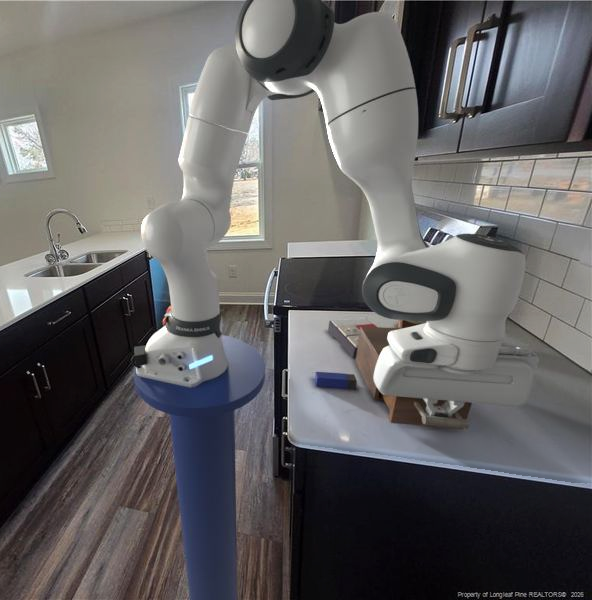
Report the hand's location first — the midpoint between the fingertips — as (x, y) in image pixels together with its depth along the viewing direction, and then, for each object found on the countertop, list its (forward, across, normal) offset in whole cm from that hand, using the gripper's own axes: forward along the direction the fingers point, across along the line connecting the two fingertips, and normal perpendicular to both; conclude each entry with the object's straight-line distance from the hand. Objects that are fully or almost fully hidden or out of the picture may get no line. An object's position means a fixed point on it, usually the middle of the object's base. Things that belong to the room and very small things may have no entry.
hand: (436, 417), depth 52 cm
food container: (+5, -14, -46) cm, 49 cm away
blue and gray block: (+5, +13, -14) cm, 20 cm away
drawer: (+4, 0, -7) cm, 8 cm away
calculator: (+6, +3, -34) cm, 35 cm away
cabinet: (+5, 0, -17) cm, 18 cm away
